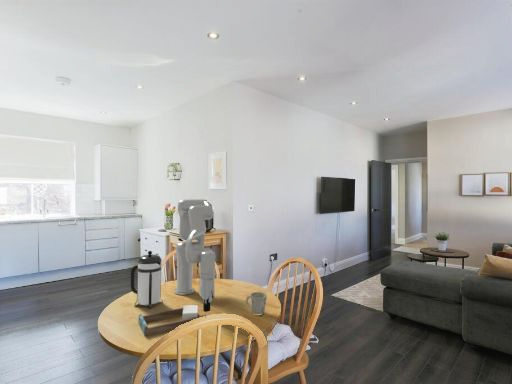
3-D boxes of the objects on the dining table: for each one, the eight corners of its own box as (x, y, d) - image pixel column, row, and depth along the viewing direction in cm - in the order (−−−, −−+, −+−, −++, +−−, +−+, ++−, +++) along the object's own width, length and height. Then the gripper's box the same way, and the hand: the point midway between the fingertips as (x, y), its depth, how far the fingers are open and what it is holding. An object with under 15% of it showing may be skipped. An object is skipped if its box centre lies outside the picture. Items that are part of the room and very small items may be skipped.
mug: (261, 318, 144) (261, 298, 145) (240, 312, 151) (241, 293, 151) (269, 312, 152) (269, 294, 152) (249, 307, 158) (249, 289, 158)
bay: (138, 322, 137) (138, 314, 137) (194, 311, 152) (194, 303, 152) (144, 336, 124) (144, 327, 124) (205, 322, 139) (205, 313, 139)
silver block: (183, 315, 147) (183, 305, 147) (197, 314, 148) (197, 304, 149) (182, 324, 137) (182, 313, 137) (197, 323, 139) (197, 312, 139)
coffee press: (161, 297, 171) (163, 247, 171) (163, 307, 156) (164, 252, 156) (130, 301, 165) (131, 248, 165) (128, 311, 150) (130, 254, 150)
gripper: (195, 272, 152) (194, 307, 152) (206, 280, 139) (205, 317, 139) (208, 271, 156) (207, 304, 156) (220, 278, 143) (219, 314, 143)
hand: (206, 310), depth 148 cm, fingers closed
